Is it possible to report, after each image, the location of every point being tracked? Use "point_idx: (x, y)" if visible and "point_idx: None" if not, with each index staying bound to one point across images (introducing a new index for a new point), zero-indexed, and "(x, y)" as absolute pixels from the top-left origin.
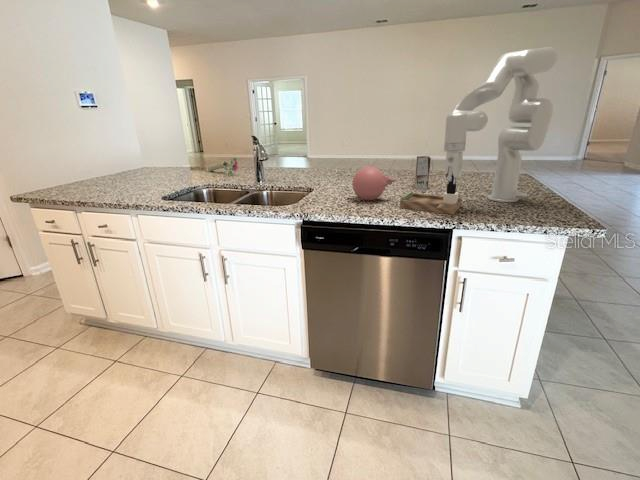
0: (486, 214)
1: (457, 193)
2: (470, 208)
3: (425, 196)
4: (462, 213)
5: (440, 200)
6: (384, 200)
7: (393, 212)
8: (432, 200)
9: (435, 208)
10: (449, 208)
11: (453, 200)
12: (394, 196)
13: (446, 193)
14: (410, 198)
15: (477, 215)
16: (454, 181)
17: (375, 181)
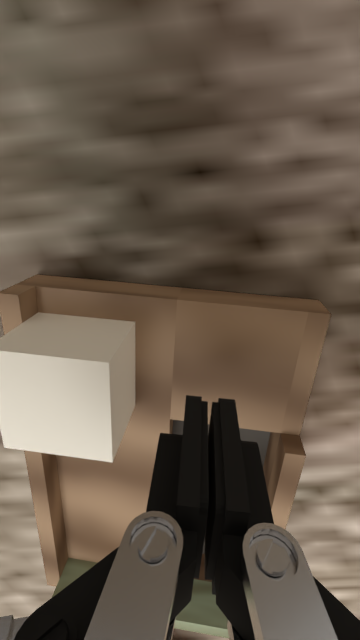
0: (217, 13)
1: (41, 356)
2: (72, 192)
3: (55, 512)
4: (255, 239)
5: None
6: None
7: (353, 584)
8: (99, 464)
9: (298, 433)
10: (293, 350)
11: (126, 351)
12: (34, 593)
13: (96, 444)
14: None
15: (282, 103)
16: (328, 610)
17: None
